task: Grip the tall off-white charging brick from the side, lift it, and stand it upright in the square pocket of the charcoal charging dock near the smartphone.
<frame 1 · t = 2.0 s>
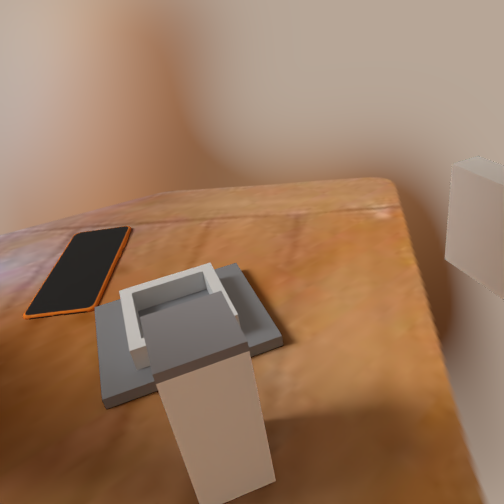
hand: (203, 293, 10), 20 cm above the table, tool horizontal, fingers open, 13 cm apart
dock: (182, 329, 40), on the table
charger: (228, 463, 29), on the table
smartphone: (86, 272, 52), on the table
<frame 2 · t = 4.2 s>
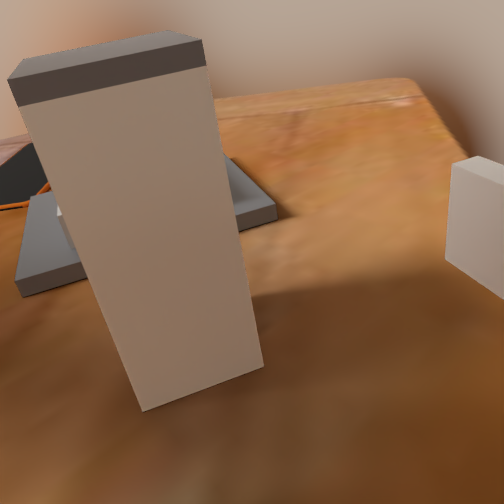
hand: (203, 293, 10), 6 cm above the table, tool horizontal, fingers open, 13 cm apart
dock: (142, 213, 30), on the table
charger: (191, 349, 18), on the table
smartphone: (33, 177, 42), on the table
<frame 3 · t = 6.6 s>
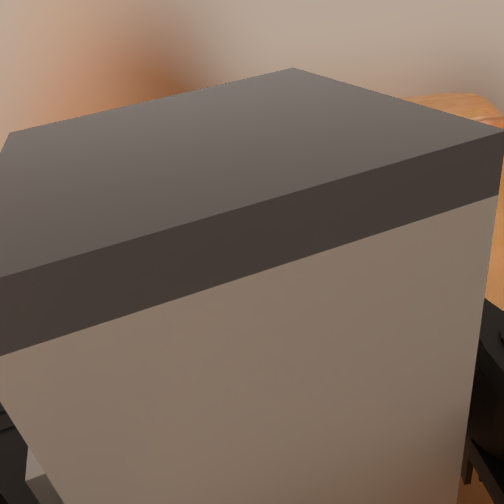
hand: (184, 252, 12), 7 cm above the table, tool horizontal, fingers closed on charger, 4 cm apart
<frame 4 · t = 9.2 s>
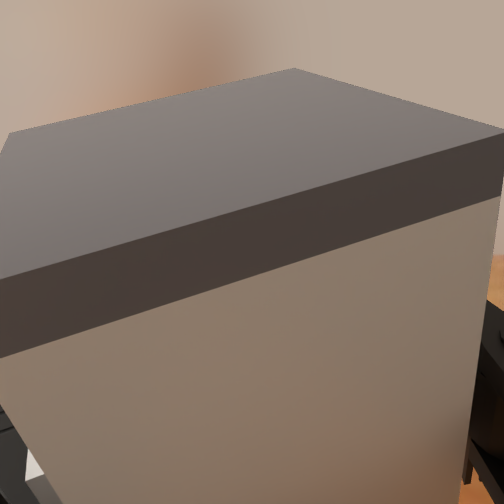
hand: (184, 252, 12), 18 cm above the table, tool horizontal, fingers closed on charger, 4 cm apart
when the fingers open (8 cm above the table, at t = 11.9 s): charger stays where it is, resting on dock.
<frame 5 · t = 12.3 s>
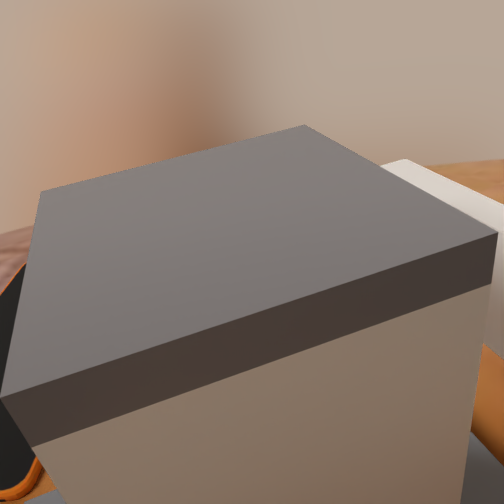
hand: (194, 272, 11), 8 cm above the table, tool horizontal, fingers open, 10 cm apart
smartphone: (32, 353, 24), on the table
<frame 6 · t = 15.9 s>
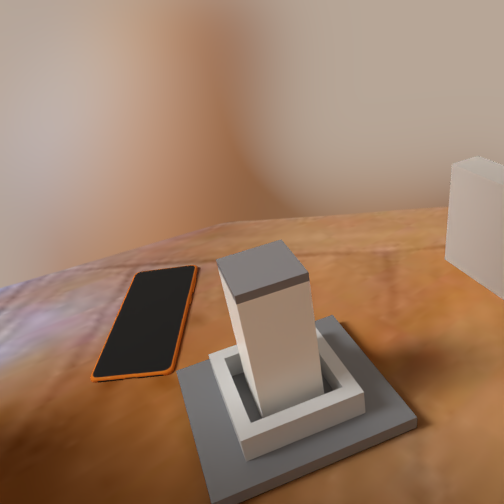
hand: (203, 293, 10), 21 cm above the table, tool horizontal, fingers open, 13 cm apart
dock: (285, 400, 34), on the table
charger: (283, 391, 34), point 1 cm above the table, touching dock
smartphone: (153, 321, 47), on the table
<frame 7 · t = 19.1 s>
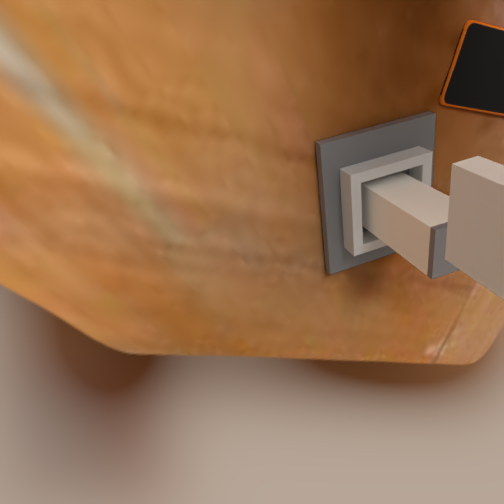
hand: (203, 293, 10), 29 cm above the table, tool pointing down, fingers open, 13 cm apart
dock: (374, 194, 47), on the table
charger: (380, 198, 46), point 1 cm above the table, touching dock
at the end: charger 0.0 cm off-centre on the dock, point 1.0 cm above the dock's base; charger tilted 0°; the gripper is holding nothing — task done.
